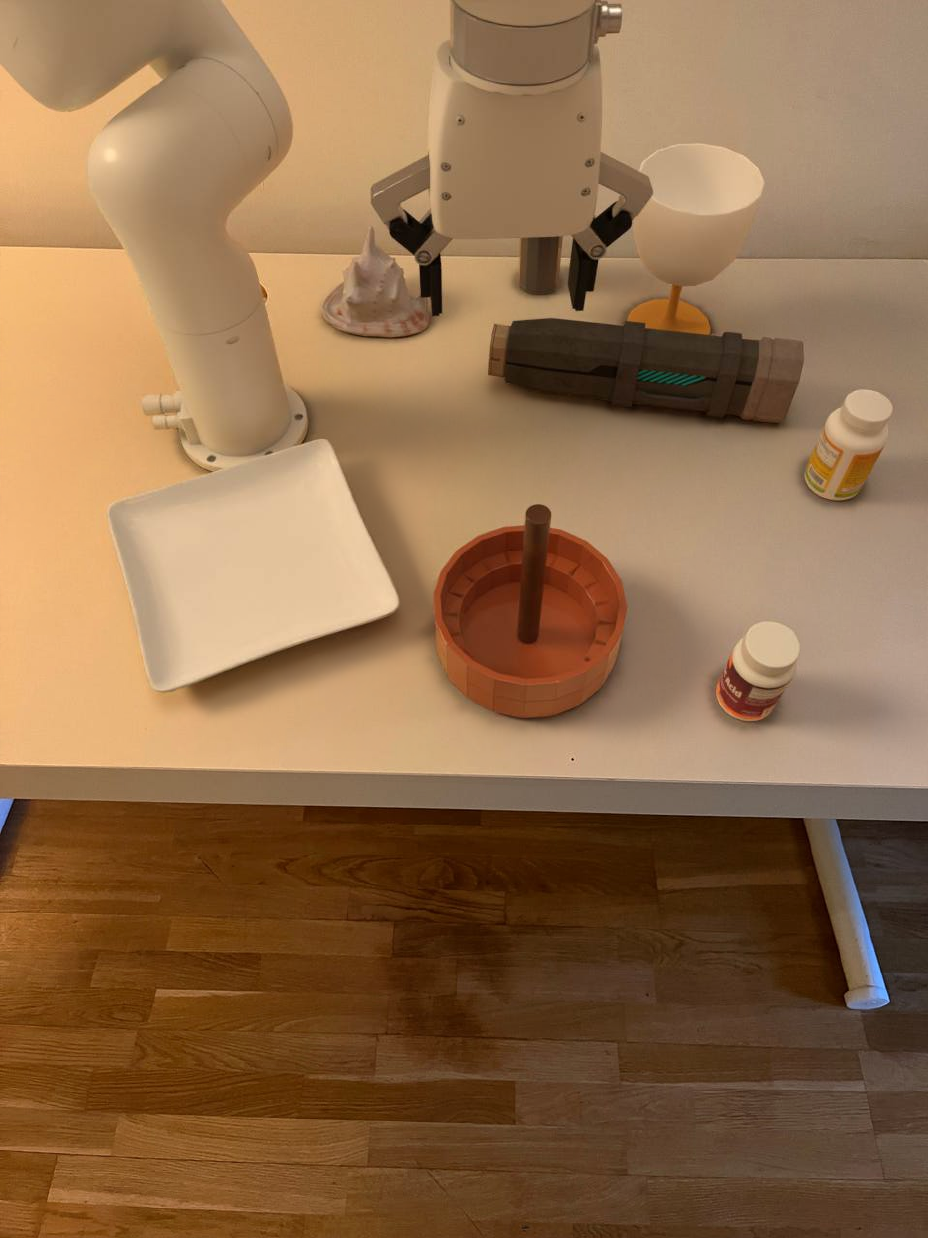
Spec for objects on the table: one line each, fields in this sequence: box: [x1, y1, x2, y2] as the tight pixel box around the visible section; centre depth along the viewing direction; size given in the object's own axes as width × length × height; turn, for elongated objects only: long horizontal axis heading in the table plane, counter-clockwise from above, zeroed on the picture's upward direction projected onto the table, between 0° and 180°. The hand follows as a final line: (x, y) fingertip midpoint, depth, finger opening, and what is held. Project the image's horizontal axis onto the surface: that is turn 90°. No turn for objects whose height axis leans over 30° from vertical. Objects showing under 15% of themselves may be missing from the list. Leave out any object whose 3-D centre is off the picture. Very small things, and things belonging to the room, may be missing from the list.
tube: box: [487, 317, 805, 424], centre depth 89 cm, size 11×7×30 cm
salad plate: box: [106, 438, 401, 694], centre depth 79 cm, size 21×21×3 cm
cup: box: [626, 142, 766, 335], centre depth 91 cm, size 12×12×17 cm
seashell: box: [321, 225, 431, 338], centre depth 96 cm, size 10×12×9 cm
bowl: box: [432, 524, 628, 719], centre depth 74 cm, size 15×15×6 cm
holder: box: [517, 236, 564, 296], centre depth 98 cm, size 4×4×9 cm
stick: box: [517, 503, 552, 644], centre depth 69 cm, size 2×2×16 cm
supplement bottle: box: [804, 388, 894, 501], centre depth 82 cm, size 5×5×10 cm
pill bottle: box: [715, 620, 801, 722], centre depth 70 cm, size 5×5×8 cm
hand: (505, 300), depth 62 cm, fingers open, 9 cm apart
